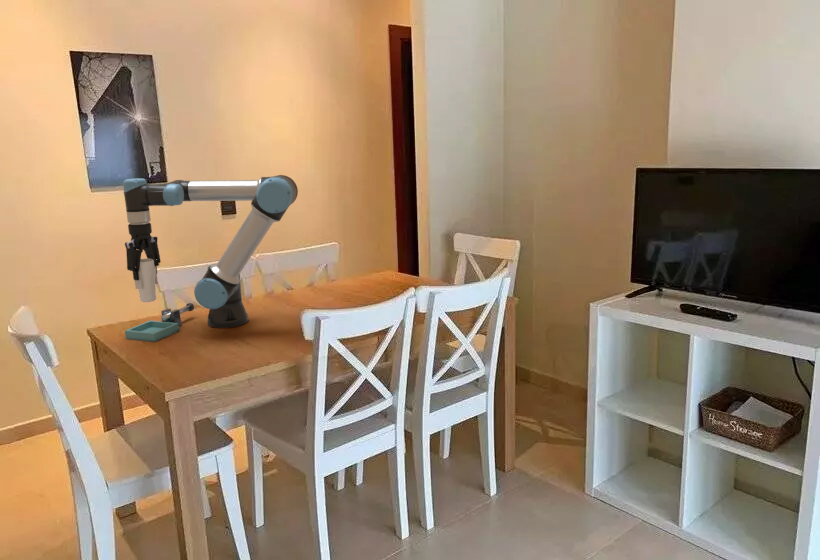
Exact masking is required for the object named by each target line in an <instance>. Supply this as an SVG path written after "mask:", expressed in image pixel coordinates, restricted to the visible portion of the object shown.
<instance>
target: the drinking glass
mask: <svg viewBox="0 0 820 560" xmlns="http://www.w3.org/2000/svg"><path fill="white" fill-rule="evenodd" d="M135 268H136V267H135ZM139 271H141V274H142V282H143V289H138V293H139V298H140V301H141V302H142V303H151V302H154V301H156V300H157V295H156V294H157V292H156V290H157V289H156V284H155V266H154V260H153V259H147V258H141V260H140V267H139Z"/></svg>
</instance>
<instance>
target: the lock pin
mask: <svg viewBox="0 0 820 560" xmlns="http://www.w3.org/2000/svg"><path fill="white" fill-rule="evenodd" d="M194 309H195V305H194V304H193V303H192V302H188V303H187V304H186V305H185V306H182V307H181V308H178V310H180V315H182V314H183V313H186V312H193V311H194ZM170 318H171V316H170V313H168V314H165V315H163V316H162V315H161V316H160V320H161V321H162V320H163V321H165V320H167V319H170Z"/></svg>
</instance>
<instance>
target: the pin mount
mask: <svg viewBox="0 0 820 560" xmlns="http://www.w3.org/2000/svg"><path fill="white" fill-rule="evenodd" d="M171 309H172V308H169V307H168V308H165V309H162V310H160V311H161V312H160V313H161V316H163V315H165V314H168V313H170V316H171V318H170V319H167V320H165V321H163V320H162V319H161V322H170V323H178V325H179V328H180V327H181V326H182V318H181V314H180V310H178V309H179V308H178V309H176V308H175V309H174V310H171Z"/></svg>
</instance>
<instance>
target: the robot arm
mask: <svg viewBox="0 0 820 560" xmlns="http://www.w3.org/2000/svg"><path fill="white" fill-rule="evenodd" d="M122 183H123V195H124V202H125V211H126V218H127V223H128V225H127V228H128V234H129V235H130V238H131V239H130V241H129V242H127V241H126V242H125V243H124V246H125V249H126V250H125V251H126V252H125V253H126V270H128V271H130V272H132V277H133V281H134V286H135V289H136V290H139V289H143V282H142V274H141V271H139V267H140V260H141V259H142V253H143V252H144V254H145V256H146V259H153V260H154V266H155V285H158V267H159V266H160V263H161V262H162V261H161V255H160V251H159V245H158V236H152V235H151V234H152V233H153V230H152V223H150V222H151V211H150V207H153V206H154V207H157V206H159V207H160V206H167V207H168V206H169V207H174V206H181V205H182V204H184V203H183V202H205V201H206V202H218V201H219V202H222V201H223V202H233V201H234V202H238V201H239V202H242V201H243V202H247V201H250V206H251V210H250V212H249V213H248V215H247V217H246V218H245V219H244V221H243V223H242V224H241V226H240V227H239V228H238V230H237V232H236V234H235V235H234V237H233V238H232V240H231V241H230V243H229V244H228V246H227V248H226V249H225V250H224V252H223V254H222V255H221V257H220V259H219V260H218V262H217V263H213V264H209V265H208V266H207V270H206V273H205V274H204V276H203V277H202V279H200V280H199V281H197V282H196V285H195V287H194V290H193V291H194V292H193V293H194V298H195V300H196V301H197V303H198V304H199V305H200V306H202V307H203V308H204V309H208V310H209V312H208V316H207V325H208V326H209V327H211V328H216V329H227V328H228V329H229V328H234V327H235V328H236V327H240V326H242V325H245V324H247V323H248V322H249V315H248V313H247V309H246V307H245V306H244V303H243V298H242V286H241V285H242V284H241V283H242V282H241V272H243V270H244V268H245V266H246V265H247V264H248V262H249V260H250V259H251V257H252V256H253V255H254V253H255V251H256V250H257V248H258V247H259V245H260V244H261V242H262V241H263V239H264V238H265V236H266V234H267V233H268V231H269V230H270V228H272V225H273V224H274V223H276V222H280V221H281V219H282V218H283V217H284V215H285V213H286V212H287V210H288V209H289V207H290V206H291V205H292V204H294V203H295V201H296V200H297V198H298V195H299V194H298V192H299V189H298V186H297V184H296V182H295V180H293V179H292V177H289V176H287V175H283V174H278V175H273V176H261V177H260V178H259V179H228V180H225V179H223V180H221V179H219V180H218V179H217V180H209V179H208V180H207V179H206V180H183V179H175V180H173V181H170V182H166V183H158V184H157V183H156V184H152V183H151V184H149V183H148V182H147V180H146V179H145V178H142V177H141V178H139V177H138V178H137V177H136V178H135V177H134V178H127V179H124V181H123V182H122ZM135 267H136V268H135Z"/></svg>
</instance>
